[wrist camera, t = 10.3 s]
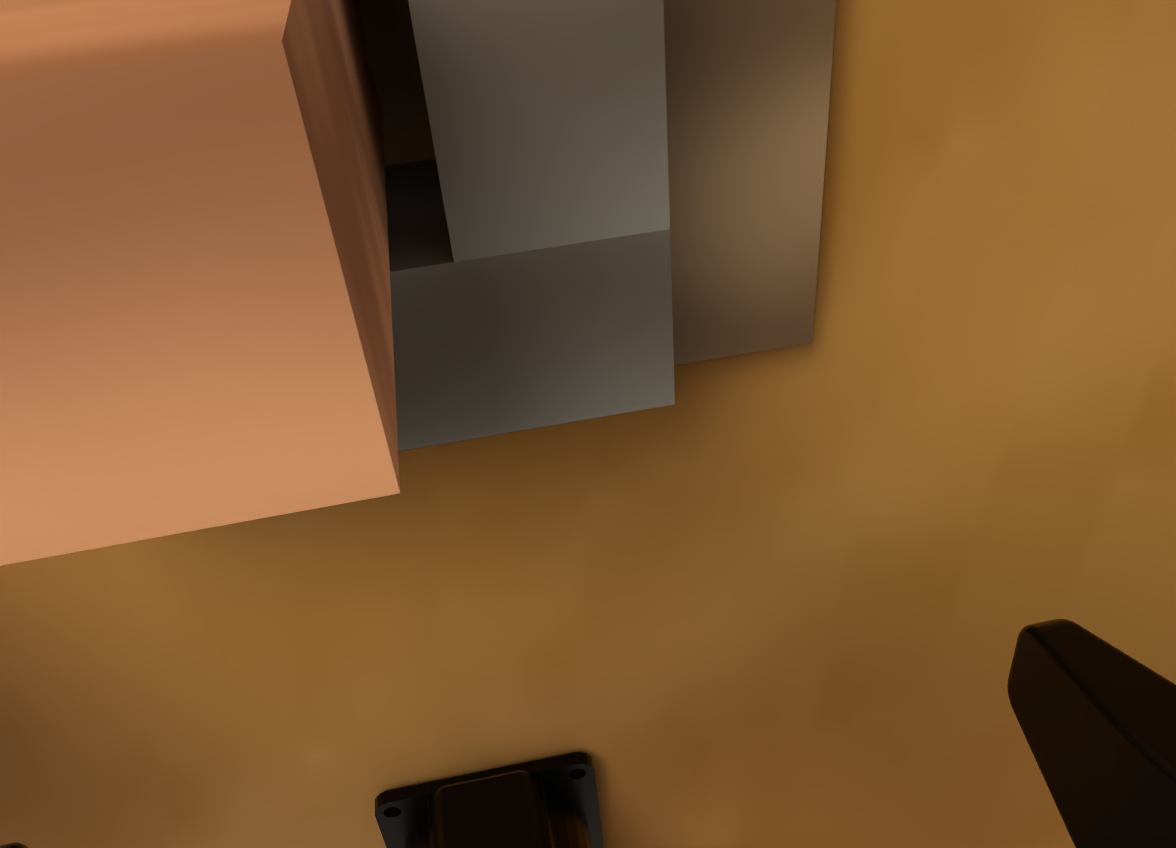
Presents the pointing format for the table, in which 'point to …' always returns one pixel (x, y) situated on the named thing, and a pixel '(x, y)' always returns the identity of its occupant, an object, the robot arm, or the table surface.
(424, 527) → the table surface
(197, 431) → the peg
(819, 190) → the socket board
